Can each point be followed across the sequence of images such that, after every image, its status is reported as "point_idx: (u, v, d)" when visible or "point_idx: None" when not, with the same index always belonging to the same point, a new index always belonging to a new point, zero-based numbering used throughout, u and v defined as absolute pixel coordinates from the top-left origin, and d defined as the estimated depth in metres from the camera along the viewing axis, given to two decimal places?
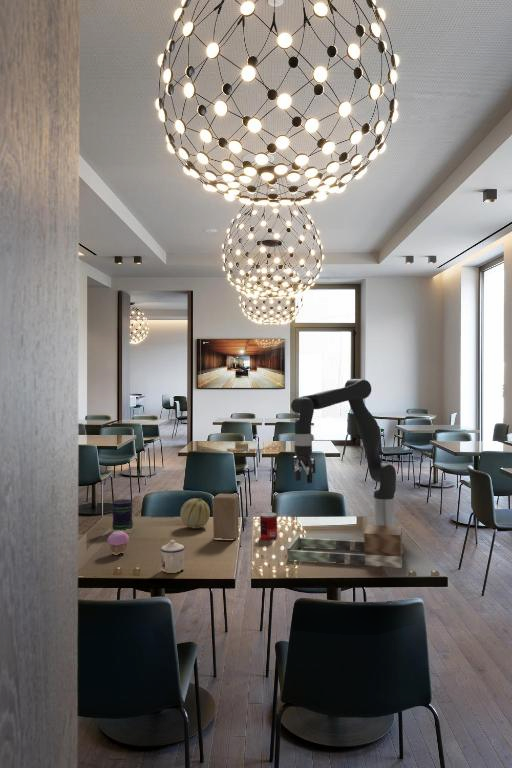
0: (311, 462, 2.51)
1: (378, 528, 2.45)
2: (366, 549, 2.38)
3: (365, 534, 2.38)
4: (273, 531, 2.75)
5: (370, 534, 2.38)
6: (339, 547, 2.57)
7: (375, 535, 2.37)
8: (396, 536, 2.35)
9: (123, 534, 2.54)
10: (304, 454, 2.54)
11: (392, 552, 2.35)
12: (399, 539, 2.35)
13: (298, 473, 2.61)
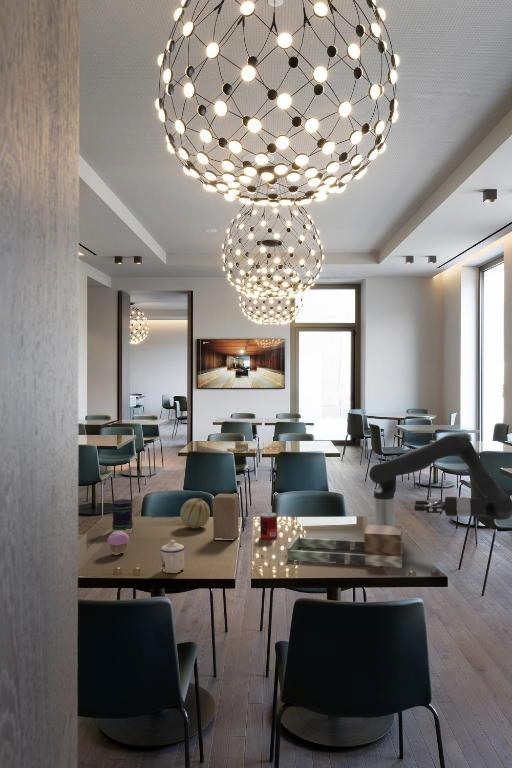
0: None
1: (378, 528, 2.45)
2: (366, 549, 2.38)
3: (365, 534, 2.38)
4: (273, 531, 2.75)
5: (370, 534, 2.38)
6: (339, 547, 2.57)
7: (375, 535, 2.37)
8: (396, 536, 2.35)
9: (123, 534, 2.54)
10: None
11: (392, 552, 2.35)
12: (399, 539, 2.35)
13: None
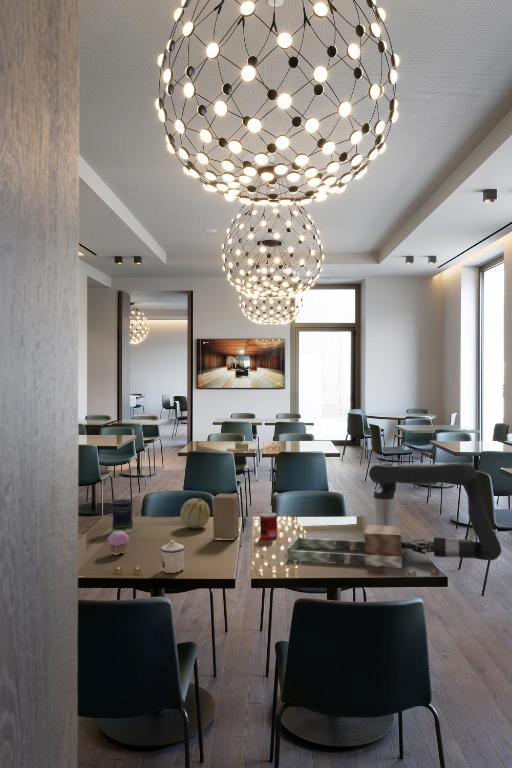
0: None
1: (378, 528, 2.45)
2: (366, 549, 2.38)
3: (365, 534, 2.38)
4: (273, 532, 2.75)
5: (370, 534, 2.38)
6: (339, 547, 2.57)
7: (375, 535, 2.37)
8: (396, 536, 2.35)
9: (123, 534, 2.54)
10: None
11: (392, 552, 2.36)
12: (399, 539, 2.35)
13: None
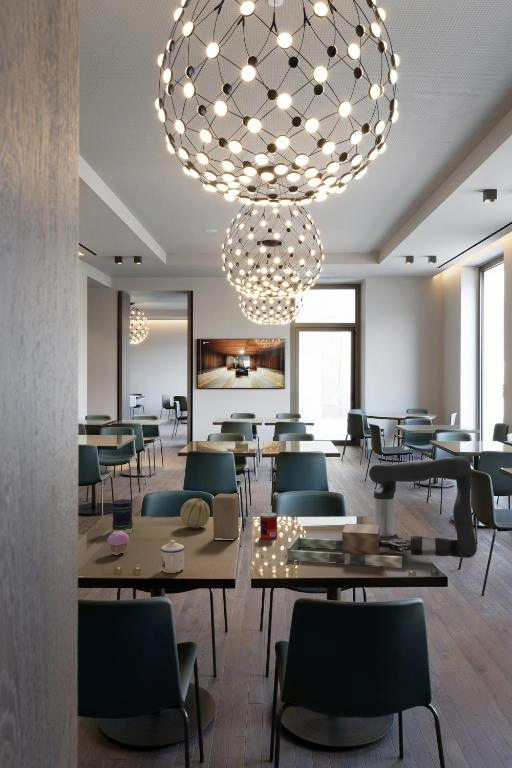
0: None
1: (356, 527, 2.47)
2: (344, 548, 2.40)
3: (343, 533, 2.40)
4: (273, 531, 2.75)
5: (348, 533, 2.40)
6: (339, 547, 2.57)
7: (353, 534, 2.39)
8: (373, 535, 2.37)
9: (123, 534, 2.54)
10: None
11: (369, 551, 2.38)
12: (376, 538, 2.37)
13: None
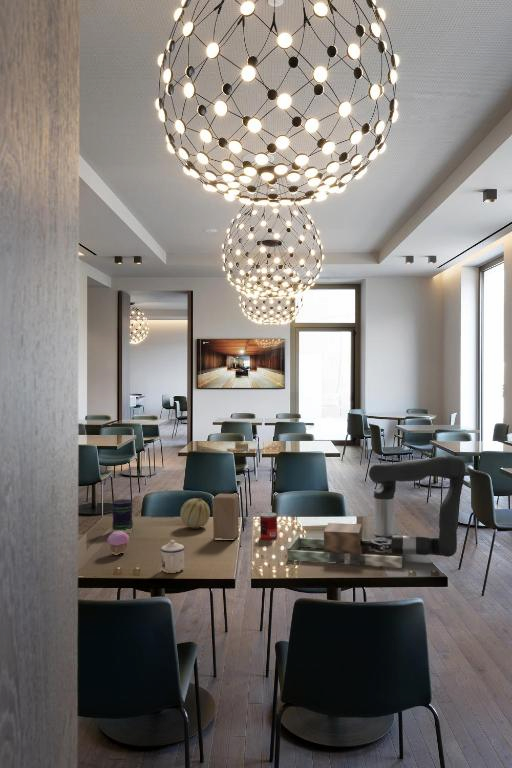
0: None
1: (338, 526, 2.49)
2: (326, 547, 2.42)
3: (325, 532, 2.42)
4: (273, 532, 2.75)
5: (329, 532, 2.42)
6: None
7: (334, 533, 2.41)
8: (355, 534, 2.39)
9: (123, 534, 2.54)
10: None
11: (351, 550, 2.40)
12: (357, 537, 2.39)
13: None
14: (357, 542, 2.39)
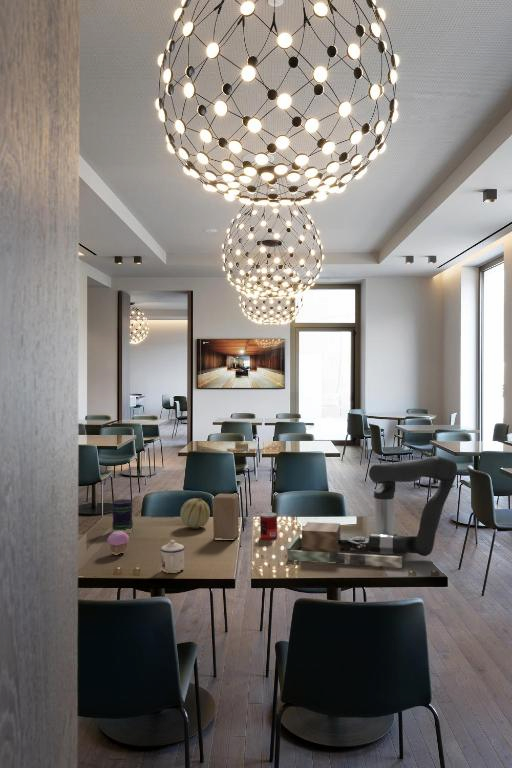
0: None
1: (317, 525, 2.51)
2: (304, 546, 2.44)
3: (303, 531, 2.44)
4: (273, 531, 2.75)
5: (307, 531, 2.44)
6: None
7: (312, 532, 2.43)
8: (332, 533, 2.41)
9: (123, 534, 2.54)
10: None
11: (328, 549, 2.42)
12: (335, 536, 2.41)
13: None
14: (334, 541, 2.41)
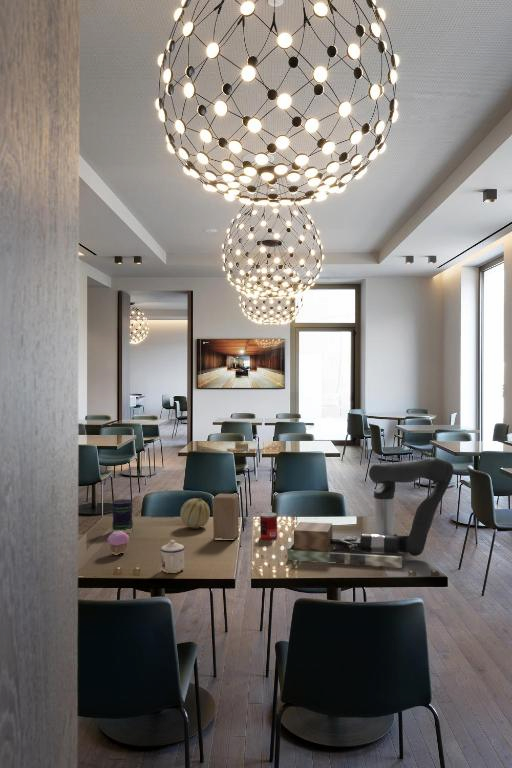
0: None
1: (309, 525, 2.52)
2: (295, 545, 2.45)
3: (294, 531, 2.45)
4: (273, 532, 2.75)
5: (299, 531, 2.45)
6: (339, 547, 2.57)
7: (304, 532, 2.44)
8: (324, 533, 2.42)
9: (123, 534, 2.54)
10: None
11: (320, 549, 2.42)
12: (326, 536, 2.42)
13: None
14: (326, 541, 2.42)
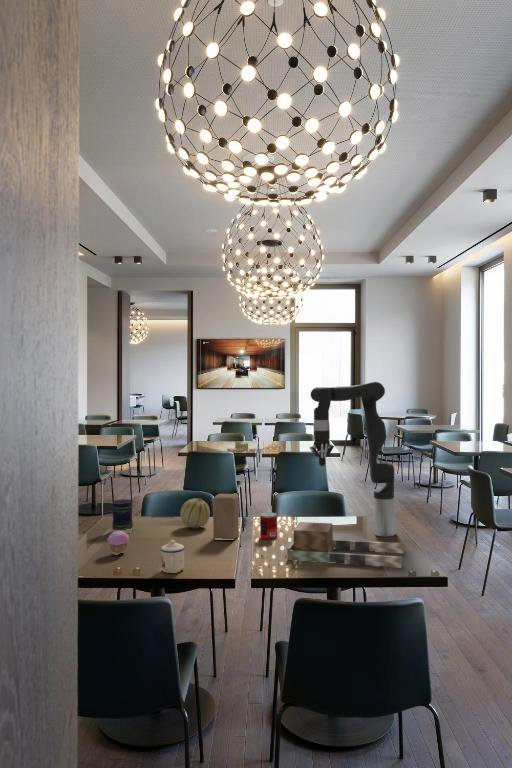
0: None
1: (309, 525, 2.52)
2: (295, 545, 2.45)
3: (294, 531, 2.45)
4: (273, 532, 2.75)
5: (299, 531, 2.45)
6: (339, 547, 2.57)
7: (303, 532, 2.44)
8: (323, 533, 2.42)
9: (123, 534, 2.54)
10: None
11: (319, 549, 2.42)
12: (326, 536, 2.42)
13: None
14: (326, 541, 2.42)
